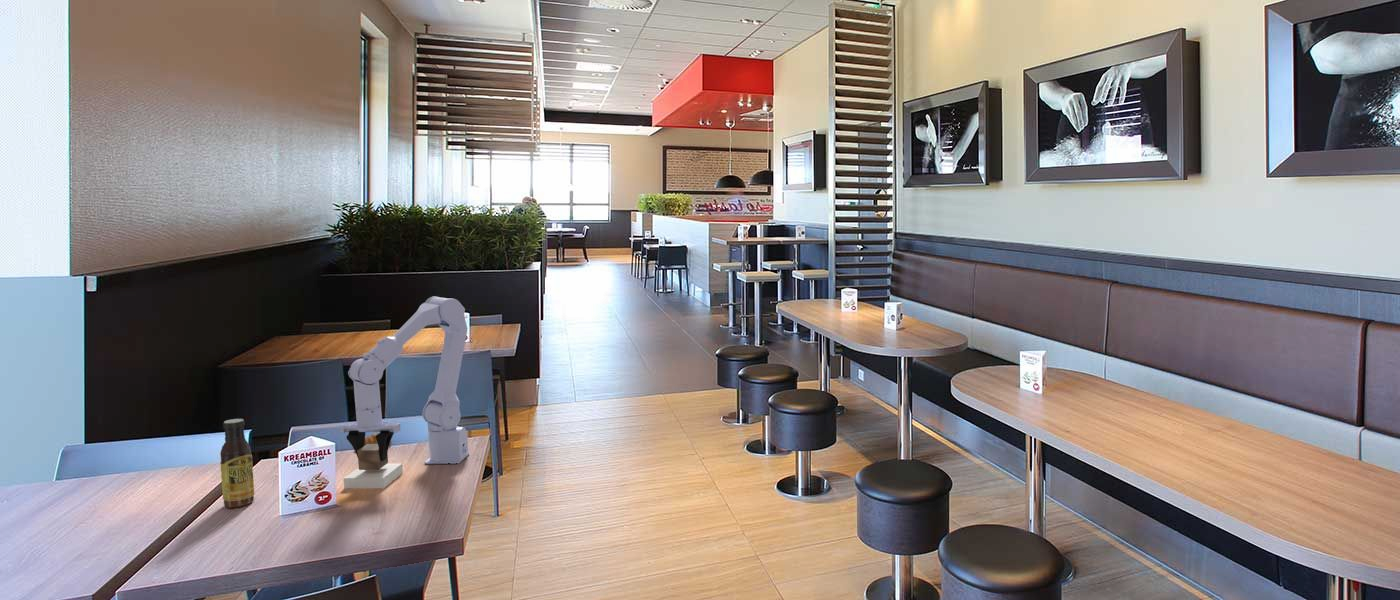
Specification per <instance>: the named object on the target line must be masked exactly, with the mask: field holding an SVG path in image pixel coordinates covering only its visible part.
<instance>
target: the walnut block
mask: <svg viewBox="0 0 1400 600" xmlns="http://www.w3.org/2000/svg"><path fill="white" fill-rule="evenodd" d="M357 452H358V457H357V461H358V468H359V470H379V469H380V468H382V467H383V466H385V465H386V464H389V457H388V456H389V455H388V453H387V458H386V459H385V460H384V461H381V460H380V456H379V447H378V444H367V445H365V446H363V447H362V448H360V449H359V450H357Z"/></svg>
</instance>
